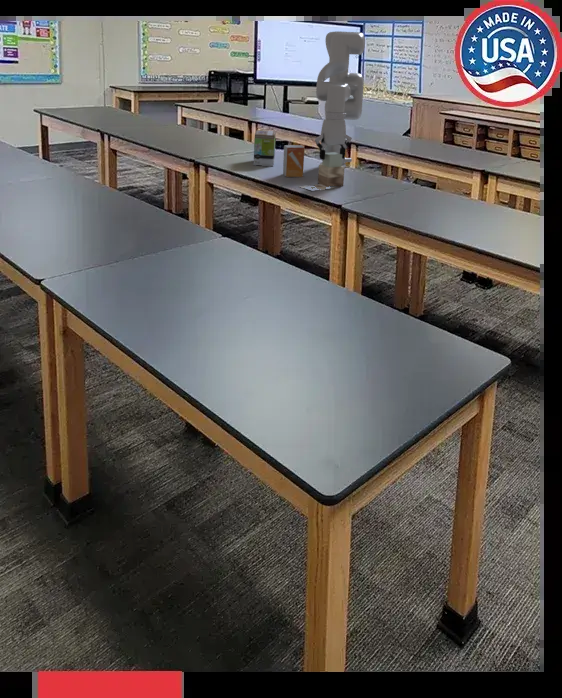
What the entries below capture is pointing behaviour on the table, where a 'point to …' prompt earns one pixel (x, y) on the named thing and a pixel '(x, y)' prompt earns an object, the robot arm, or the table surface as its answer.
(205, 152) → the table surface
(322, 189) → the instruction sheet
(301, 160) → the small box
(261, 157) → the tea box
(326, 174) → the wood-grain cube
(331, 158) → the sage brick
